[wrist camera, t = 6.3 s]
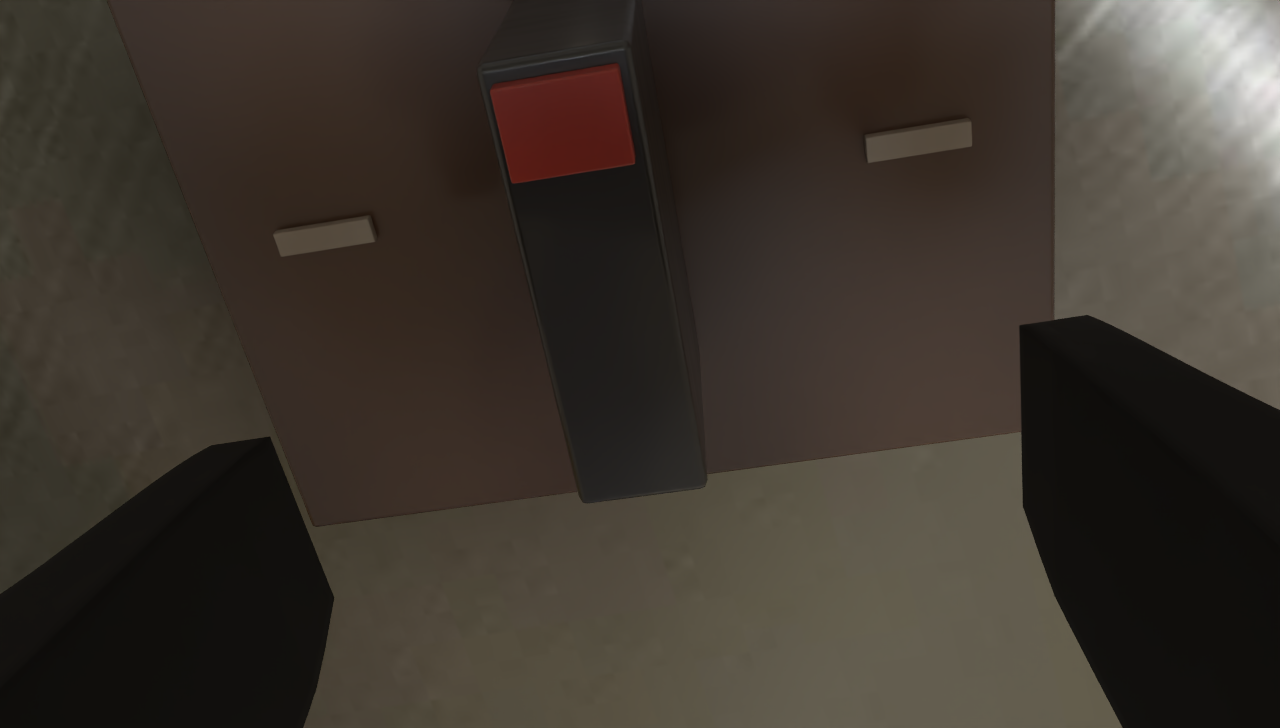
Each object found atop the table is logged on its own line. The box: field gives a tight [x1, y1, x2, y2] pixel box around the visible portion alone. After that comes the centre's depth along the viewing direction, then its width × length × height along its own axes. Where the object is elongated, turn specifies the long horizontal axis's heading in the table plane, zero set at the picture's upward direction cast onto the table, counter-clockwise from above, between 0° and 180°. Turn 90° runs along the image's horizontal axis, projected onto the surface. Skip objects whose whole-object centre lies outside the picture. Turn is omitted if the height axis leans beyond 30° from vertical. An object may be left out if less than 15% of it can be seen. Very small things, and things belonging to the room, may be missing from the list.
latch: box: [476, 0, 707, 503], centre depth 14 cm, size 6×2×4 cm, turn 10°
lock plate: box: [107, 0, 1055, 527], centre depth 17 cm, size 12×10×3 cm
